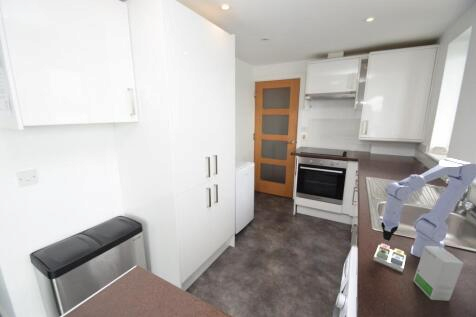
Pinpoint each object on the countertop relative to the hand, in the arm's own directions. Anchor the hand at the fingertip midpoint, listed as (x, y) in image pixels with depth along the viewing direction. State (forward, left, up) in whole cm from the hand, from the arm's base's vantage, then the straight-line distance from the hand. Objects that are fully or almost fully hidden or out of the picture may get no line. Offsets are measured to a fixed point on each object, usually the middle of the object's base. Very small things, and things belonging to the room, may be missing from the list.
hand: (386, 239), depth 92 cm
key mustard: (-5, 0, -6) cm, 8 cm away
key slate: (-5, +5, -6) cm, 9 cm away
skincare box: (-16, +11, -8) cm, 21 cm away
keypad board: (-3, +2, -8) cm, 8 cm away
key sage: (0, +5, -6) cm, 8 cm away
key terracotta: (0, 0, -6) cm, 6 cm away
